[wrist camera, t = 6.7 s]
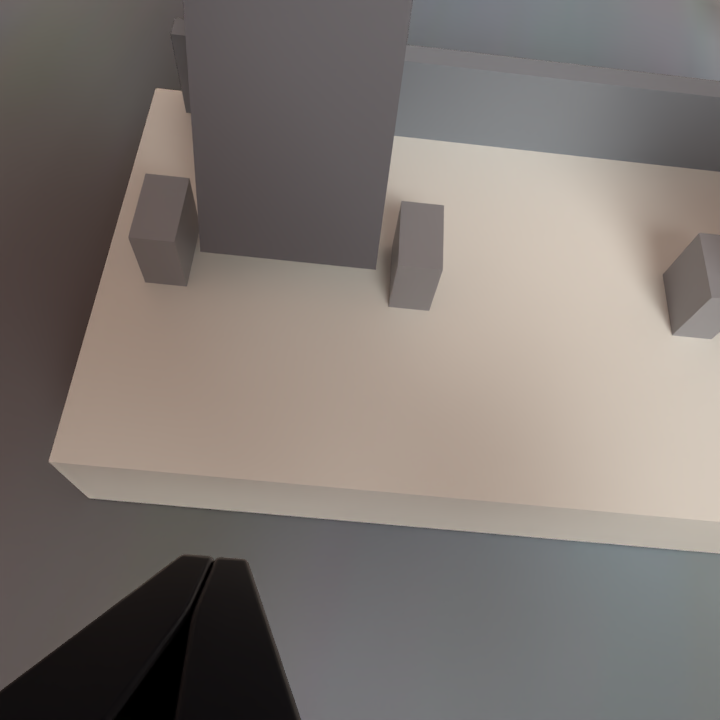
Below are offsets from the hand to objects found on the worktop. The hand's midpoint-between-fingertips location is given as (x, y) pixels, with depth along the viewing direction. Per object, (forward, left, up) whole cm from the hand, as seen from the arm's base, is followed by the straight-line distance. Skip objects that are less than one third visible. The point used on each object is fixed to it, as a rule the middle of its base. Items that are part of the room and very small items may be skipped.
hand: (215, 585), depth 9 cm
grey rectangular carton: (+8, -4, -5) cm, 9 cm away
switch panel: (+5, -9, -8) cm, 13 cm away
